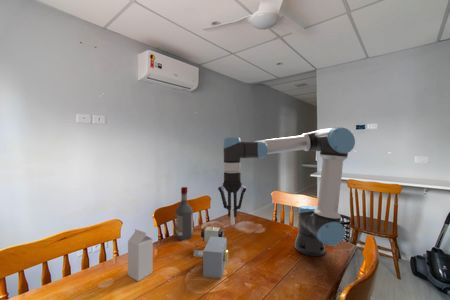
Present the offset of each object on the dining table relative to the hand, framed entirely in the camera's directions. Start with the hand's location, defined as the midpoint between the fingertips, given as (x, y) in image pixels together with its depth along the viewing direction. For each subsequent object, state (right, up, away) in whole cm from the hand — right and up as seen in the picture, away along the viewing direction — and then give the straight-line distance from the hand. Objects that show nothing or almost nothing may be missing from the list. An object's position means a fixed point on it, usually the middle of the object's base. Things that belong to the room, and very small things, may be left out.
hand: (232, 223), depth 93 cm
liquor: (-28, -20, +33) cm, 47 cm away
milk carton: (-40, -21, -4) cm, 45 cm away
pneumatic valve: (-10, -20, +19) cm, 29 cm away
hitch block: (-8, -20, +1) cm, 22 cm away
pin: (-10, -17, +1) cm, 20 cm away
